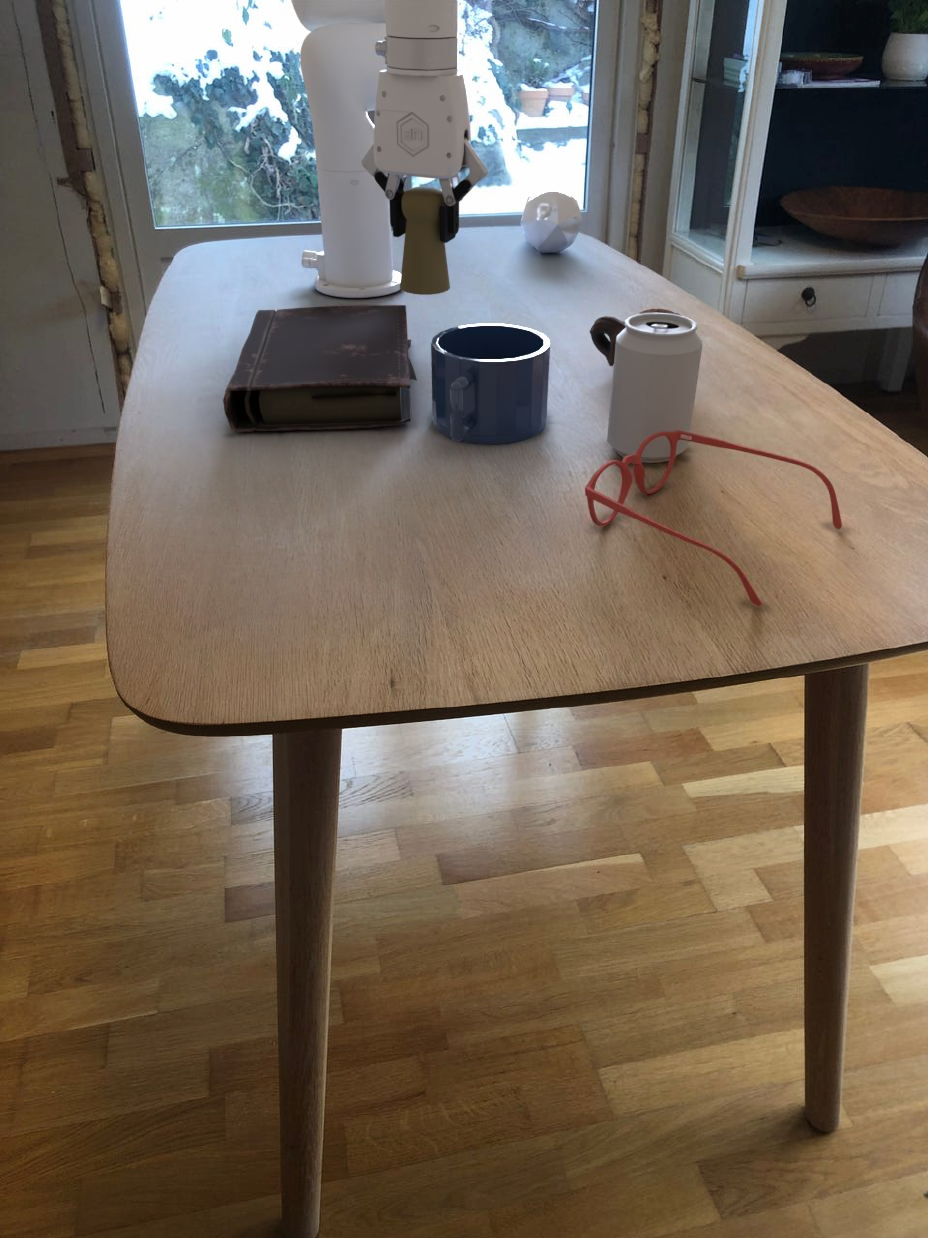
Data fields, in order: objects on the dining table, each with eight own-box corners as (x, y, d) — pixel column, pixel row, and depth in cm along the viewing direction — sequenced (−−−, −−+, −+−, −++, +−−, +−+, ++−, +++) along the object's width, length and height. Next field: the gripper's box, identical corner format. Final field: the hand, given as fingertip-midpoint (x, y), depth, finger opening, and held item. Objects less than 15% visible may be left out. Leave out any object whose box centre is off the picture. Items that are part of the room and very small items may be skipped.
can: (692, 439, 91) (710, 312, 84) (680, 471, 85) (699, 338, 78) (614, 429, 93) (626, 304, 86) (598, 460, 87) (609, 329, 80)
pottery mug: (692, 368, 109) (715, 316, 101) (668, 429, 105) (690, 380, 97) (593, 331, 110) (609, 277, 102) (566, 390, 106) (580, 339, 98)
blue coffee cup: (458, 394, 101) (457, 318, 96) (560, 409, 97) (564, 330, 93) (399, 448, 89) (395, 364, 85) (512, 467, 86) (515, 381, 81)
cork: (452, 280, 116) (453, 182, 110) (447, 295, 111) (447, 194, 105) (403, 278, 117) (401, 181, 110) (396, 293, 112) (393, 192, 105)
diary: (226, 434, 92) (218, 384, 89) (256, 350, 112) (250, 307, 110) (419, 429, 93) (418, 379, 90) (414, 346, 113) (412, 303, 111)
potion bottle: (548, 270, 148) (530, 258, 161) (600, 229, 146) (577, 220, 159) (514, 218, 144) (498, 210, 157) (567, 175, 142) (546, 171, 155)
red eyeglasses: (672, 468, 86) (679, 416, 83) (847, 523, 77) (862, 466, 74) (561, 542, 75) (565, 484, 72) (752, 615, 66) (764, 553, 63)
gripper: (333, 55, 100) (343, 236, 110) (486, 64, 95) (481, 253, 105) (365, 48, 105) (372, 222, 116) (511, 57, 100) (504, 237, 111)
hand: (424, 235), depth 110 cm, fingers closed on cork, 5 cm apart
